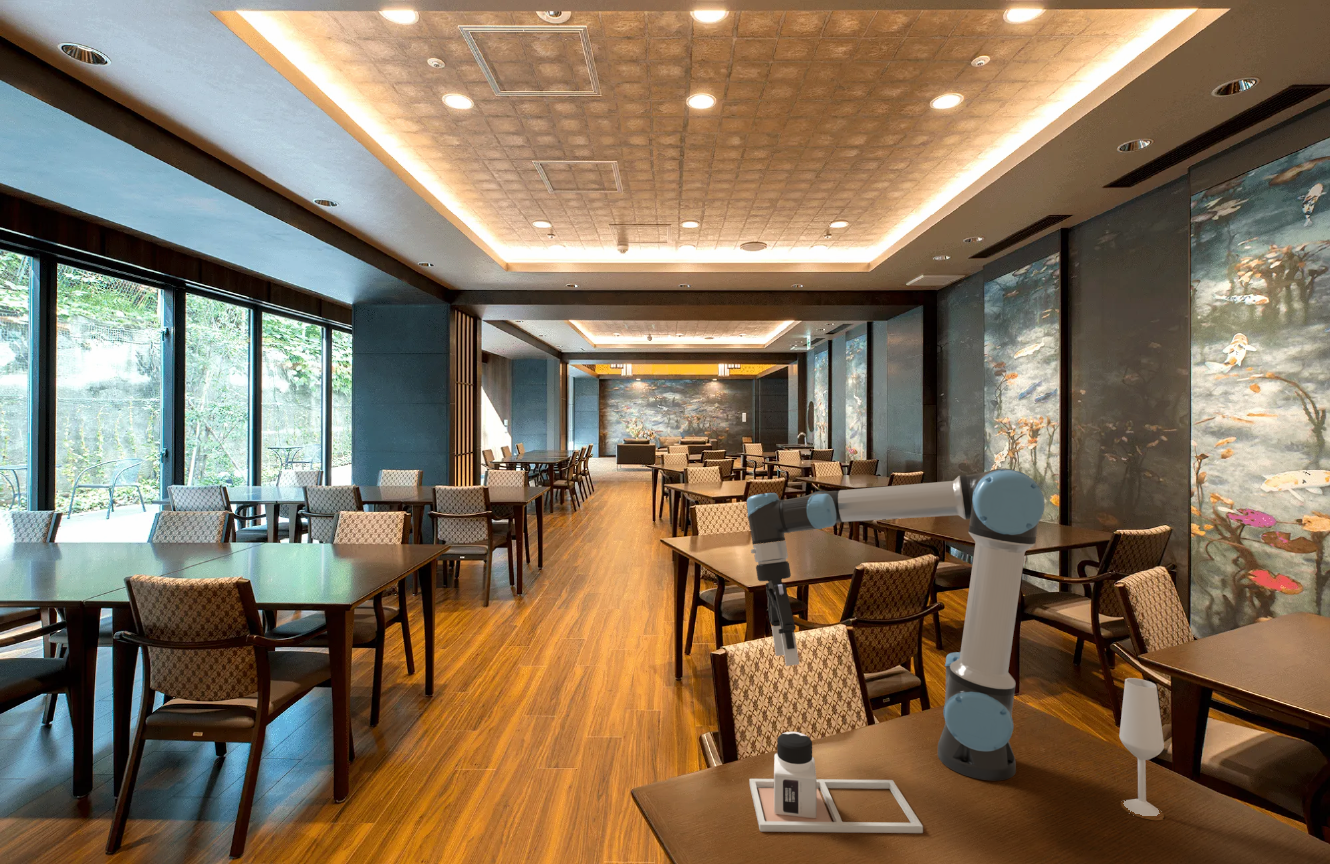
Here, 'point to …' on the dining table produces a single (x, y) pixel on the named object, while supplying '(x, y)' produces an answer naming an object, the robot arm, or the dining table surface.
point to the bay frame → (823, 819)
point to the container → (795, 776)
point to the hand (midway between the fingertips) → (787, 659)
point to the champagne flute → (1141, 735)
